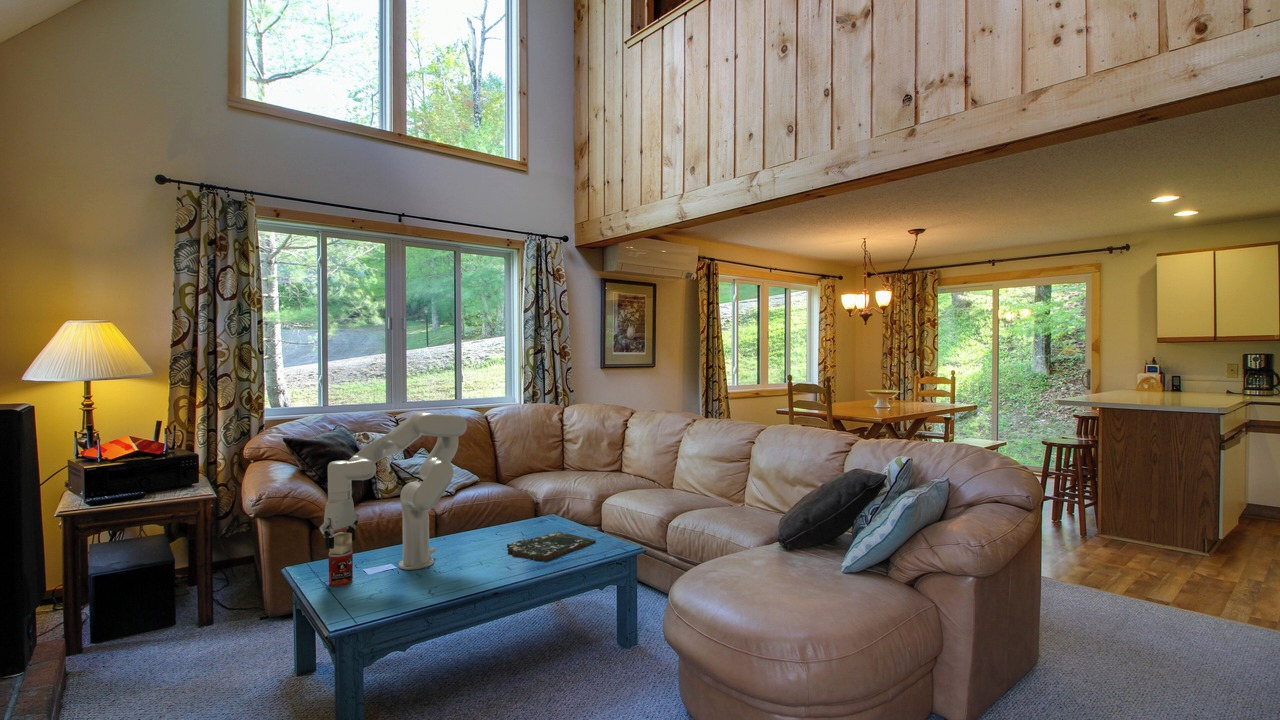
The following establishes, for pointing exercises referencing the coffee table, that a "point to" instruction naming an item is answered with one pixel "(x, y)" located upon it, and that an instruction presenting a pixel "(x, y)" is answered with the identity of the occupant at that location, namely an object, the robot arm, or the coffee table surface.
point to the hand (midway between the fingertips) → (340, 544)
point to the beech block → (342, 543)
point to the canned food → (340, 568)
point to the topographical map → (548, 546)
